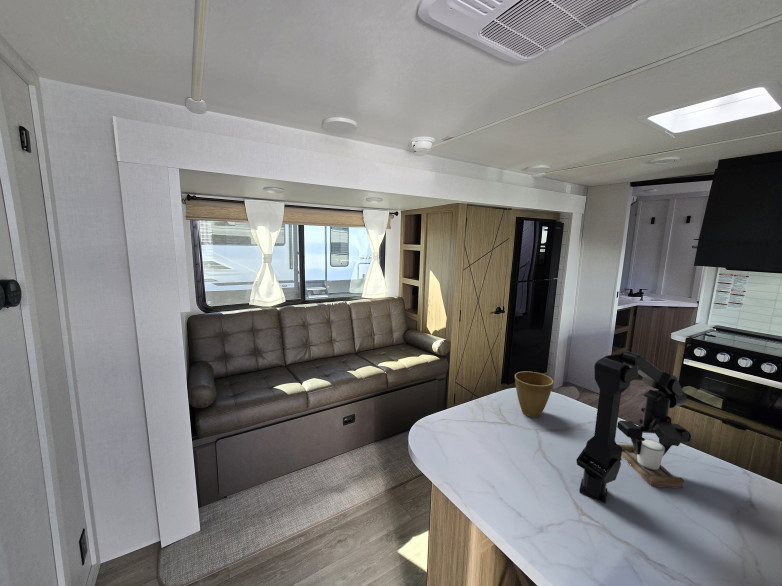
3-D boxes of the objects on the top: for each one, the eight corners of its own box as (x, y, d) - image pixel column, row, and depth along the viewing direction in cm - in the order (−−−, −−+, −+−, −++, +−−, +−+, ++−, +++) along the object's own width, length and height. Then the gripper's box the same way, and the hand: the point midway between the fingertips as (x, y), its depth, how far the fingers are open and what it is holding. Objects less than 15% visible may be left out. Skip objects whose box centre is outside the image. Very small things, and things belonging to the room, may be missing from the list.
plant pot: (537, 403, 143) (541, 370, 140) (557, 422, 128) (561, 385, 126) (506, 404, 142) (508, 371, 139) (522, 422, 127) (525, 385, 125)
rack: (682, 488, 94) (684, 479, 93) (650, 486, 94) (652, 477, 94) (644, 453, 109) (645, 446, 109) (617, 451, 110) (618, 444, 110)
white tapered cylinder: (648, 456, 105) (651, 437, 104) (667, 470, 98) (671, 450, 97) (629, 456, 105) (632, 437, 104) (647, 471, 98) (650, 451, 97)
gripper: (643, 422, 92) (636, 470, 94) (711, 426, 90) (702, 474, 92) (619, 403, 102) (613, 446, 105) (679, 406, 101) (672, 450, 103)
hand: (649, 454), depth 101 cm, fingers open, 7 cm apart
